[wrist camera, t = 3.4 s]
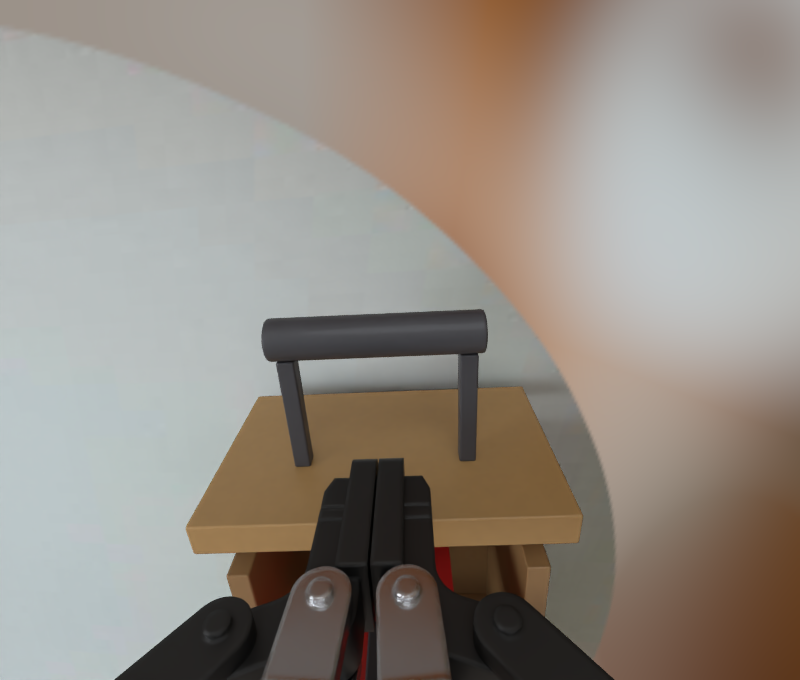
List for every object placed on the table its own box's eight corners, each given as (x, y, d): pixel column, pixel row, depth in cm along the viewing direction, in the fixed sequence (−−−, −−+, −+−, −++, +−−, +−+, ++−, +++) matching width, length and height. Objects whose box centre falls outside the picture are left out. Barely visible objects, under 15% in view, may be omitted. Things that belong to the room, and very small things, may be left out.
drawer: (233, 279, 19) (128, 367, 12) (531, 265, 18) (612, 347, 11) (299, 588, 27) (261, 753, 20) (507, 583, 26) (546, 748, 19)
